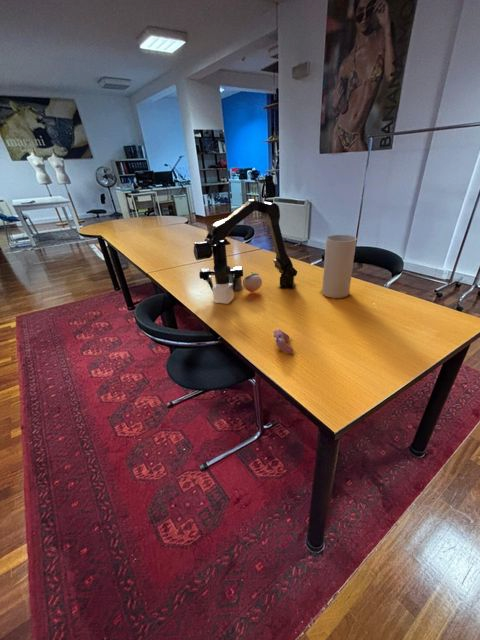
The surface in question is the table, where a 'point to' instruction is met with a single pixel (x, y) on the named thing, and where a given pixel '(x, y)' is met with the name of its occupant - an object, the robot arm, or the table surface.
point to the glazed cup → (238, 283)
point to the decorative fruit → (252, 282)
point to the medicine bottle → (223, 291)
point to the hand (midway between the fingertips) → (223, 291)
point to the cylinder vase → (338, 265)
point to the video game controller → (282, 341)
